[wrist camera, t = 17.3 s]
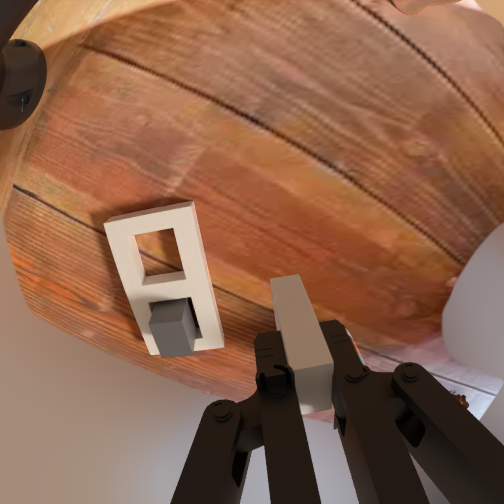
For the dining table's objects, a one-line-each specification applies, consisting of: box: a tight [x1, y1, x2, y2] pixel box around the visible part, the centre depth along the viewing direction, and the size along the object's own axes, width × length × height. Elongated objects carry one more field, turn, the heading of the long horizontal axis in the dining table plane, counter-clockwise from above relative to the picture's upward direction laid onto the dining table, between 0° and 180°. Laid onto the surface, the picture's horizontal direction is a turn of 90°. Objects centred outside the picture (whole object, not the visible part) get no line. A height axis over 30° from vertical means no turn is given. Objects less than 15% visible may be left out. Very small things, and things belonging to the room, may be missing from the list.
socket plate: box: [103, 201, 224, 355], centre depth 47 cm, size 13×24×3 cm, turn 8°
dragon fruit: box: [454, 394, 469, 409], centre depth 67 cm, size 8×8×12 cm
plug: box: [148, 298, 197, 358], centre depth 47 cm, size 5×6×8 cm
